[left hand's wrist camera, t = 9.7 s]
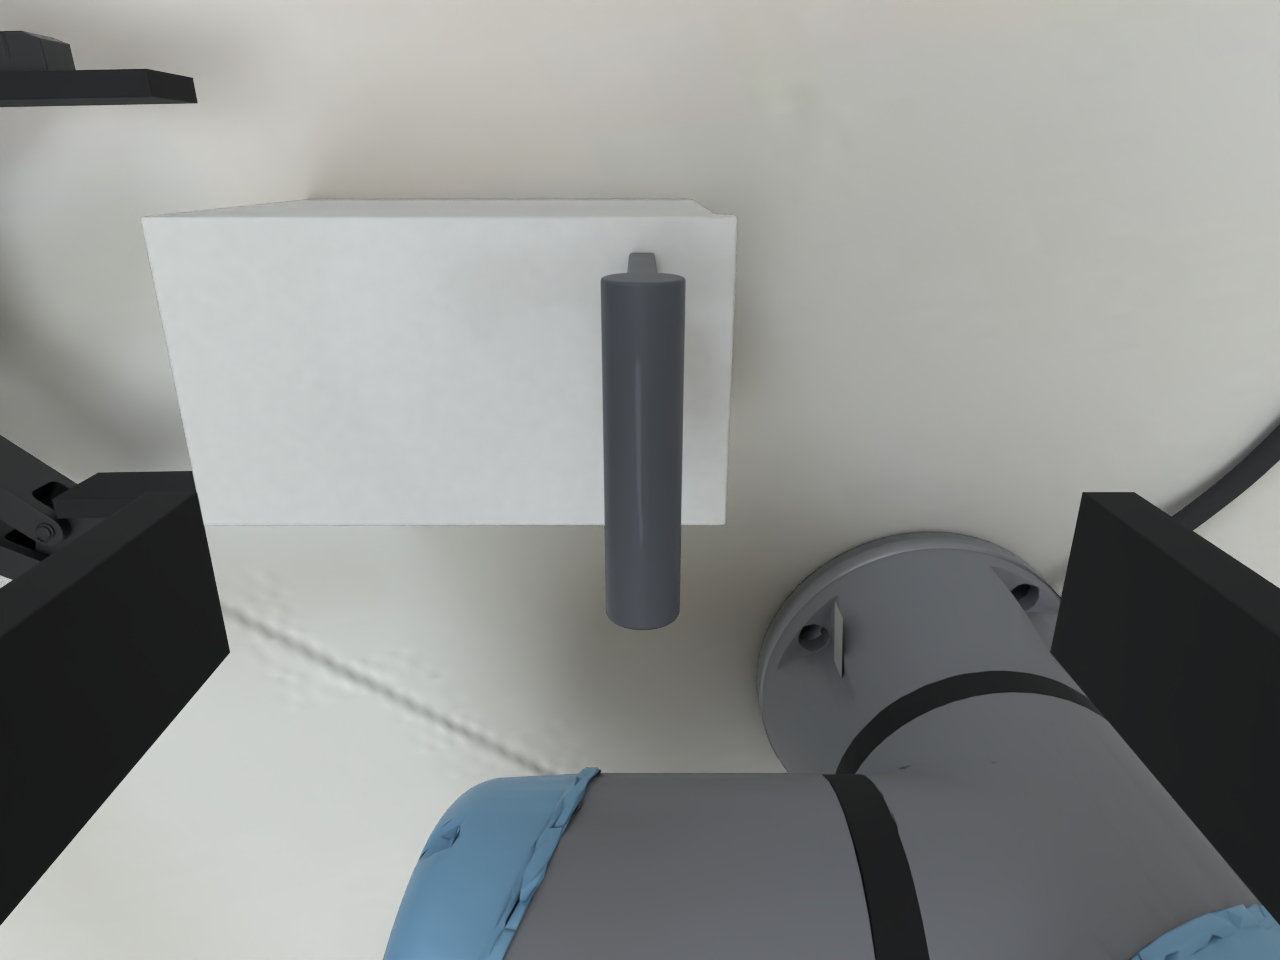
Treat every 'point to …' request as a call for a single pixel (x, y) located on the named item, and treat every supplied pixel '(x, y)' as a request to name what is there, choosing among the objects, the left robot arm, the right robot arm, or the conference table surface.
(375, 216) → the lid
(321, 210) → the chest
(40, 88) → the right robot arm
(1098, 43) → the conference table surface
